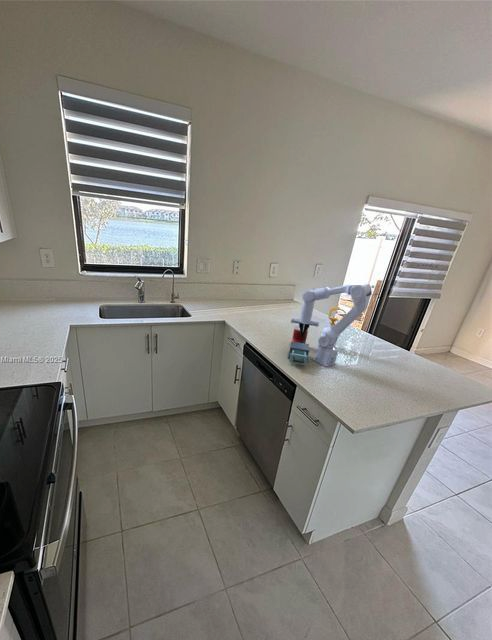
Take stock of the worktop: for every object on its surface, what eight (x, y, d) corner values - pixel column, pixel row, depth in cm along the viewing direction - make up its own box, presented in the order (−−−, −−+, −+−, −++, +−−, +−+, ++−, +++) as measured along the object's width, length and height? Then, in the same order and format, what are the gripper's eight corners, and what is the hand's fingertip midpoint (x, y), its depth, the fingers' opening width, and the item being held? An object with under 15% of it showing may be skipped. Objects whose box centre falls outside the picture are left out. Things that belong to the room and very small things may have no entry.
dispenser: (306, 361, 152) (309, 350, 149) (288, 358, 154) (290, 347, 151) (306, 355, 160) (309, 344, 158) (289, 352, 162) (291, 341, 160)
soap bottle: (335, 350, 169) (346, 310, 159) (319, 348, 171) (329, 308, 160) (333, 345, 177) (343, 306, 167) (318, 343, 179) (327, 304, 168)
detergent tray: (305, 368, 142) (307, 359, 140) (288, 365, 144) (290, 356, 142) (305, 358, 153) (307, 350, 151) (289, 356, 155) (291, 347, 153)
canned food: (301, 349, 168) (305, 331, 163) (289, 345, 172) (292, 328, 167) (306, 345, 173) (310, 328, 169) (294, 342, 177) (297, 325, 173)
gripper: (292, 312, 151) (288, 337, 157) (321, 316, 148) (315, 341, 154) (293, 309, 158) (288, 333, 163) (320, 313, 155) (315, 337, 160)
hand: (301, 336), depth 159 cm, fingers closed
